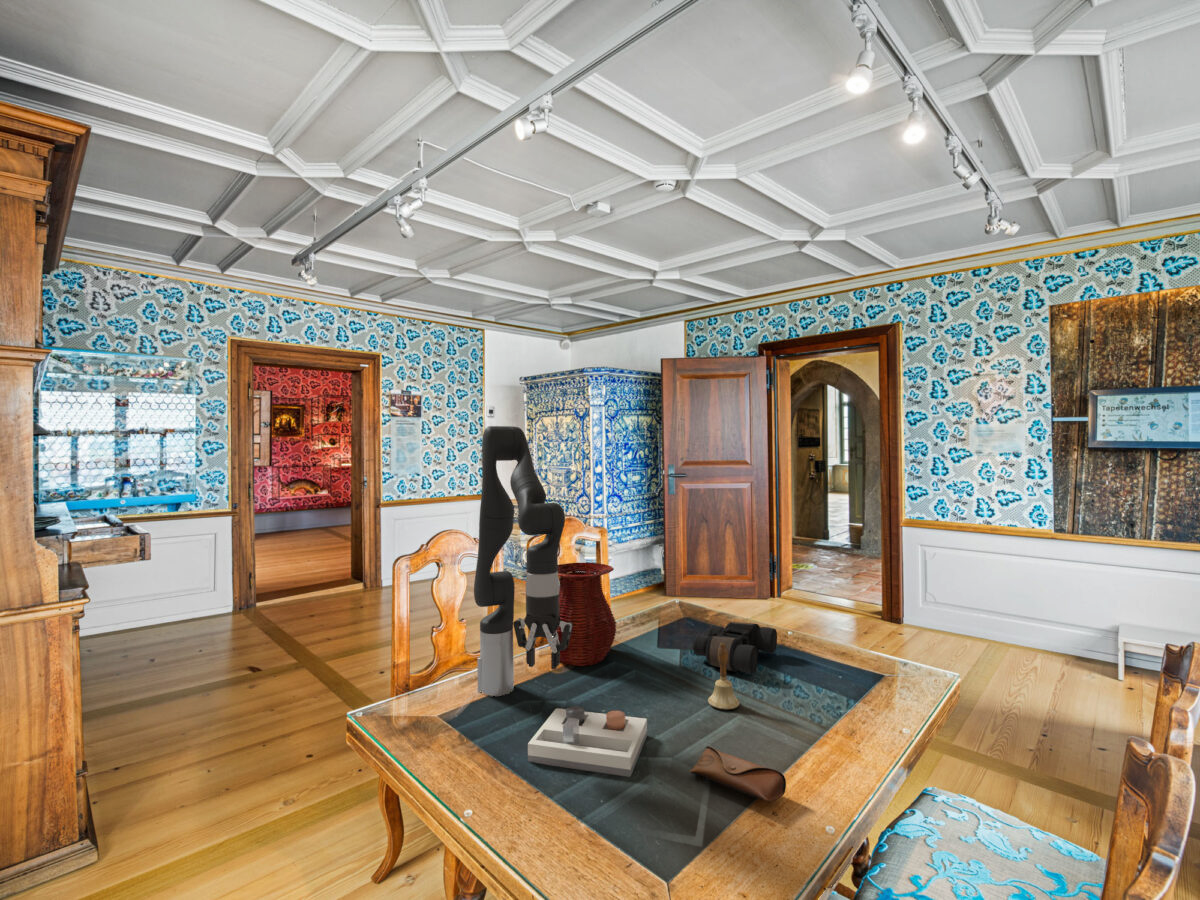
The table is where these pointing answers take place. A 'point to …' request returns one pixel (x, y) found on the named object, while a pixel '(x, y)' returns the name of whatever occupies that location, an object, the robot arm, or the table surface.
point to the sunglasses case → (740, 775)
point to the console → (590, 744)
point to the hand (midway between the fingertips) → (543, 666)
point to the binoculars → (736, 645)
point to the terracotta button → (615, 720)
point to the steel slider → (571, 731)
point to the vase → (585, 613)
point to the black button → (575, 713)
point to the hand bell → (723, 685)
